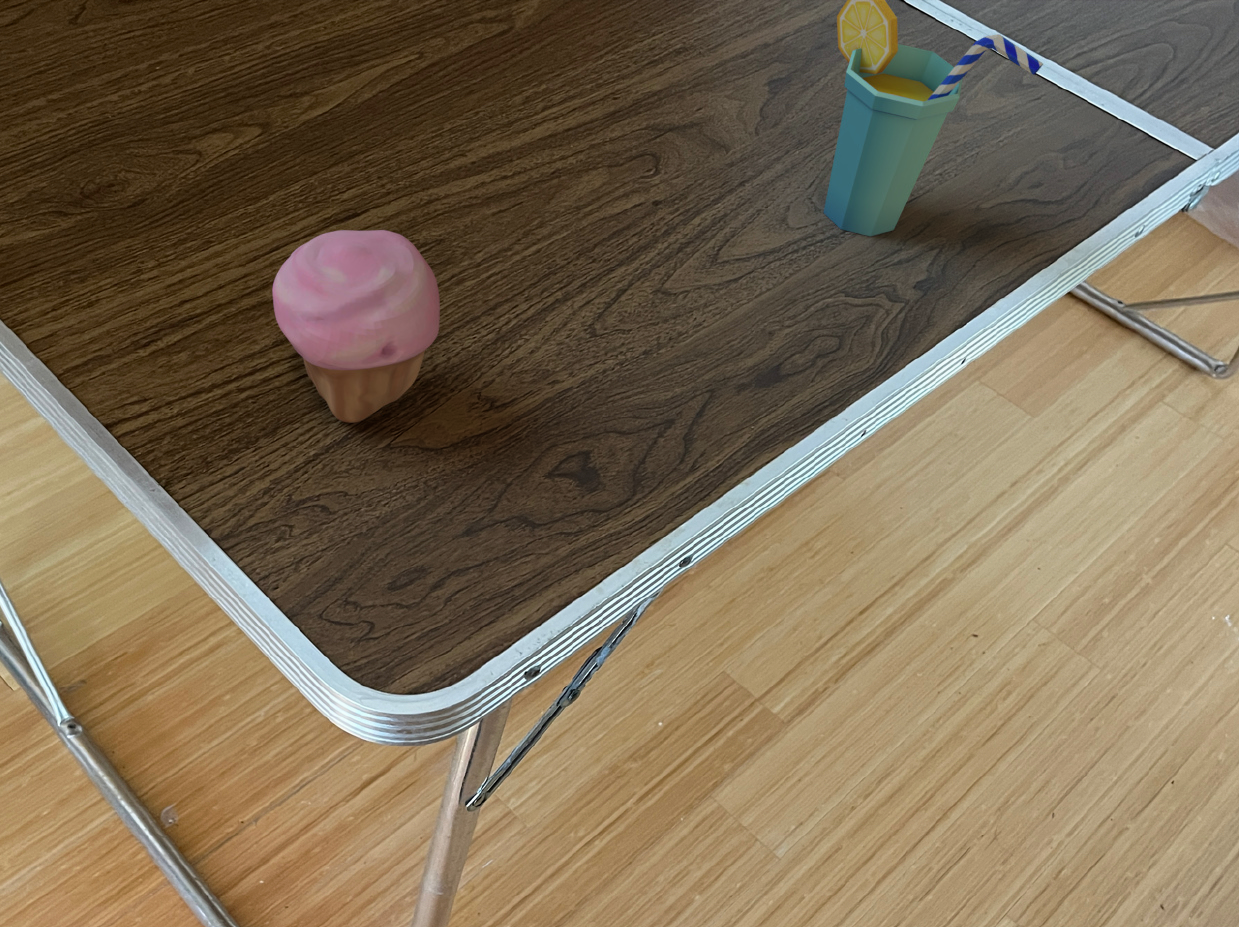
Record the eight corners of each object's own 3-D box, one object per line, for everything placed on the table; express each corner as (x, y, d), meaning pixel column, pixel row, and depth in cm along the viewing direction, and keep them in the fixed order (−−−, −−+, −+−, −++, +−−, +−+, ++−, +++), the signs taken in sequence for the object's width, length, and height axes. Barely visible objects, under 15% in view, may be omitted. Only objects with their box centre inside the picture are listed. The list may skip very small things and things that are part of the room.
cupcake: (257, 369, 71) (240, 223, 64) (392, 324, 75) (390, 181, 68) (327, 468, 67) (318, 323, 59) (467, 415, 70) (474, 272, 63)
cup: (986, 239, 86) (1073, 32, 75) (934, 288, 82) (1017, 77, 71) (815, 156, 91) (871, -49, 80) (757, 199, 87) (809, -12, 76)
